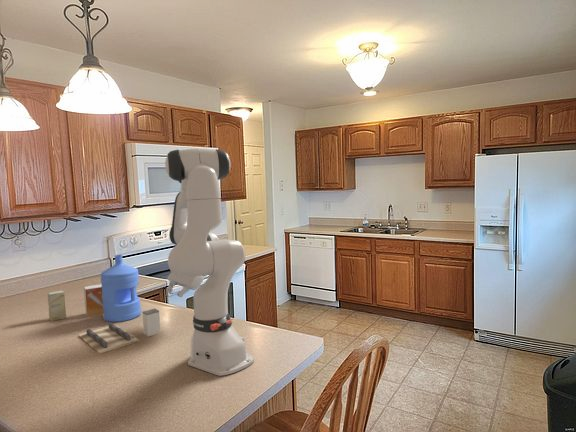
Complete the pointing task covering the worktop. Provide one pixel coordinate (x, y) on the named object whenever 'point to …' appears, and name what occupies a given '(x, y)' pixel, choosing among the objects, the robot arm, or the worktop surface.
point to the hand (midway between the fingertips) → (173, 294)
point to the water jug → (120, 292)
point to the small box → (93, 300)
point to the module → (151, 322)
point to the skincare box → (56, 305)
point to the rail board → (108, 338)
